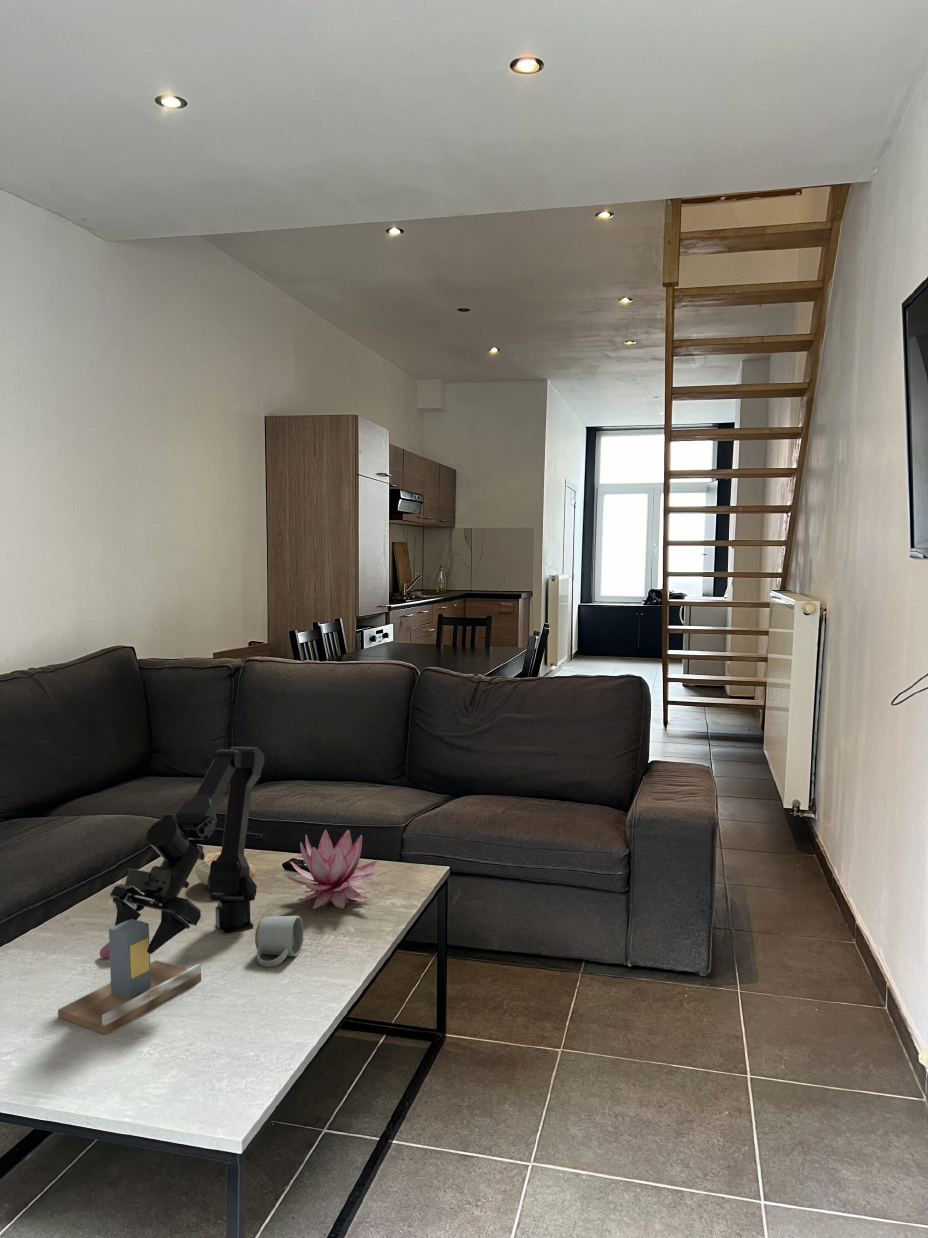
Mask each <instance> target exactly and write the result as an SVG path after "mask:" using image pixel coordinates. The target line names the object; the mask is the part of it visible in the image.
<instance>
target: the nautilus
mask: <svg viewBox="0 0 928 1238" xmlns="http://www.w3.org/2000/svg"><path fill="white" fill-rule="evenodd" d="M216 849H217V850H216V852H213V853H211V852H210V853H207V854H206V856H204V860H200V862H198V864H197V866H196V867H195V869H194V874H195V875H196V878H197V879H198V880H199V881H200V882H201V883H202V884H203V885H205V886H208V877H209V874H210V865H211V863H212V861H213V860H216V859H217V858H218V856H219V855H220V854H221V851H222V849H220V847H219V848H216ZM248 865H249V867H250V873H249V876H250V877H251V879H252V880H253V878H254V877H256V874H257V867H256V866H255V865H253V864H252V863H249V862H248Z"/></svg>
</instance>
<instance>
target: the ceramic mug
mask: <svg viewBox="0 0 928 1238" xmlns="http://www.w3.org/2000/svg"><path fill="white" fill-rule="evenodd" d="M254 942H255V943H254V944H255V947H256V951H257V952H256V958H257V961H258V964H259V965H260V966H262V967H265V968H273V967H277V966H278V965H280V964H282V963H283V961H284V960H285V959H286V958H287V957H297V956H299V954H300V953H301V950H302V948H303V947H302V946H303V942H304V924H303V919H302V918H301V917H300V915H285V916H282V915H281V916H280V915H279V916H277V915H276V916H275V915H274V916H267V917H263V918H262V919H261V920H259V922H258V923H257V926H256V929H255V933H254ZM262 954H263V955H270V956H277V957H276V958H274V959H272V960H264V959H262V958H261V955H262Z"/></svg>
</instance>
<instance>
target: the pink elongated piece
mask: <svg viewBox="0 0 928 1238" xmlns="http://www.w3.org/2000/svg"><path fill="white" fill-rule="evenodd" d="M138 921H142V920H138ZM142 922H144V921H142ZM99 957H100V958H101V959H110V945H109V942H107V943H106V944H105V945H104V946H102V948H101V949H100V950H99Z"/></svg>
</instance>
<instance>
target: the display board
mask: <svg viewBox="0 0 928 1238" xmlns="http://www.w3.org/2000/svg"><path fill="white" fill-rule="evenodd" d="M201 967H202V966H201V964H200V963H197V964H195V965H194V966H192V967H189V968H185V967H183V966H182V967H181V966H178V965H174V964H171V963H167V962H163V961H160V960H156V959H155V960H154V961H152V962H150V974H151V987H150V988H148V989H147V990H145V991H143V992H141V993H139V994H137V995H135V996H133V997H132V998H130V999H128V998H125V997H122V996H118V995H115V994H112V993H111V982H110V983H108V984H106V985H103V986H102V987H101V988H98V989H96V990H94V991H93V992H91V993H88V994H86V995H84V996H82V997H80V998H78V999H76V1000H75V1001H73V1002H70V1003H68V1004H66V1005H64V1006H62V1007H60V1008H58V1009H57V1017H58V1019H60V1020H63V1021H66V1022H69V1023H72V1024H75V1025H78V1026H81V1027H83V1028H87V1029H89V1030H92V1031H95V1032H98V1033H100V1034H104V1035H106V1034H108V1033H110V1032H112V1031H113V1030H115V1029H117V1028H119V1027H121V1026H123V1025H124V1024H127V1023H128V1022H130V1021H132V1020H133V1019H135V1018H137V1017H139V1016H140V1015H143V1014H144V1013H146V1012H148V1011H150V1010H151V1009H153V1008H155V1007H157V1006H159V1005H161V1004H162V1003H164V1002H166V1001H167V1000H169V999H171V998H172V997H175V996H176V995H178V994H180V993H182V992H183V991H186V989H189V988H190V987H192V986H194V985H196V984H198V983H199V982H201V981H202V968H201Z"/></svg>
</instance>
